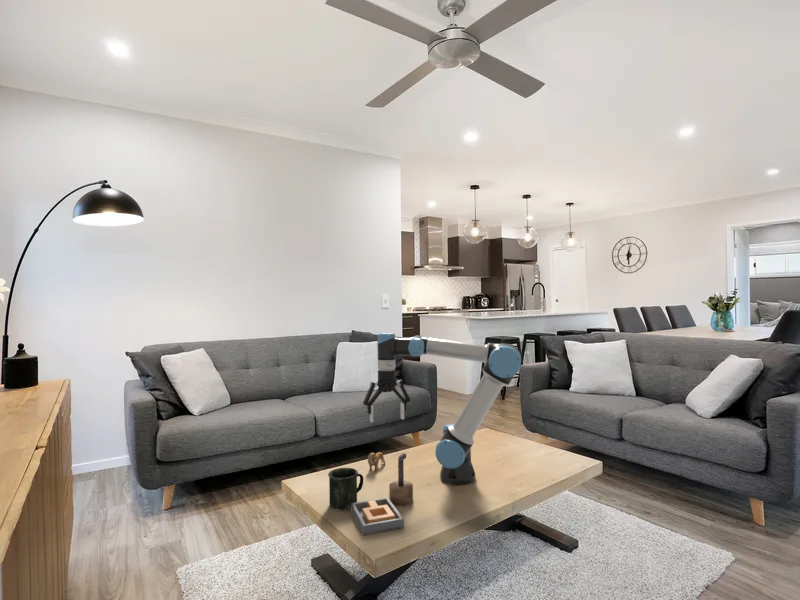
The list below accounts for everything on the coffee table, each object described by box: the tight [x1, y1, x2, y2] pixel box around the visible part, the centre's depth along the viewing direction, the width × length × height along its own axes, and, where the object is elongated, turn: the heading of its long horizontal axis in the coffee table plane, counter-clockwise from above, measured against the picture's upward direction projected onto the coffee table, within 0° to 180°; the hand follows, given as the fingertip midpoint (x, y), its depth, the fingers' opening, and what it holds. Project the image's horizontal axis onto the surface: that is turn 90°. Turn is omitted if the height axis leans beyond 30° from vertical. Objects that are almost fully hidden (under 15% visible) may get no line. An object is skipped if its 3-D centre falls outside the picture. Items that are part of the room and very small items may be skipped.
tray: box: [350, 497, 405, 536], centre depth 153 cm, size 14×18×3 cm
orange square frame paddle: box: [362, 499, 395, 524], centre depth 154 cm, size 14×9×3 cm, turn 19°
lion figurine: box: [367, 451, 386, 473], centre depth 202 cm, size 15×5×9 cm, turn 164°
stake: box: [388, 453, 414, 507], centre depth 168 cm, size 9×9×18 cm
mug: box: [327, 467, 364, 511], centre depth 166 cm, size 11×15×12 cm
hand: (387, 420), depth 185 cm, fingers open, 13 cm apart
